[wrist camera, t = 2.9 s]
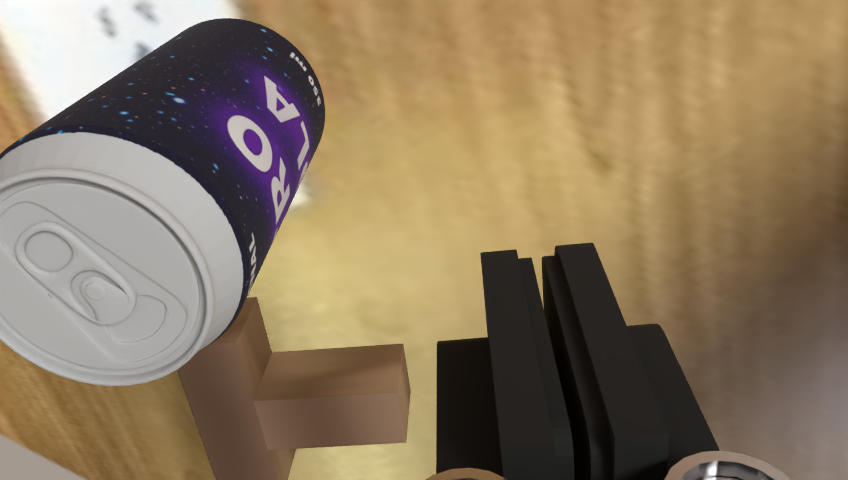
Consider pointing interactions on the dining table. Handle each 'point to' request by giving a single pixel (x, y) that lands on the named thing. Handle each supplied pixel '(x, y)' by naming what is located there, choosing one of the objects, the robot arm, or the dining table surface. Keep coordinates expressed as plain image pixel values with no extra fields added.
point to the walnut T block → (290, 399)
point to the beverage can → (154, 204)
